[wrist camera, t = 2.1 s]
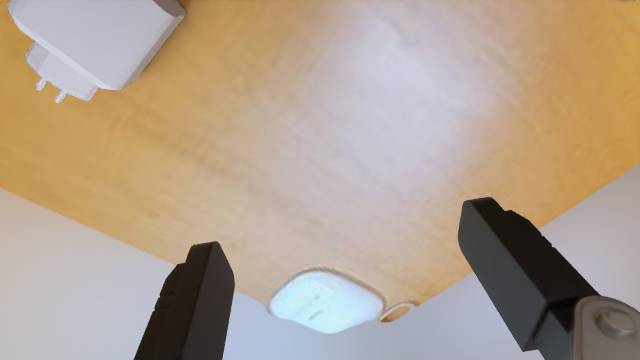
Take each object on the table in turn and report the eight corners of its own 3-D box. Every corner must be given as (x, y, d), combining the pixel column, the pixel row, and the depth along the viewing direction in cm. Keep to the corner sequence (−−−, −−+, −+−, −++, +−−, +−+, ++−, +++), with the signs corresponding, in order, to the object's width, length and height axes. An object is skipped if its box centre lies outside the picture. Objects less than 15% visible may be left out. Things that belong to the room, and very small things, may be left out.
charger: (13, 52, 29) (89, -84, 24) (107, 118, 34) (189, 12, 29) (-30, 64, 25) (50, -96, 21) (83, 137, 30) (172, 18, 25)
